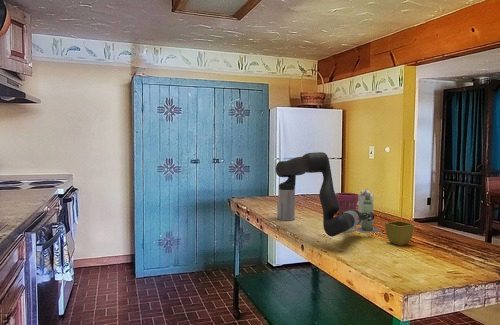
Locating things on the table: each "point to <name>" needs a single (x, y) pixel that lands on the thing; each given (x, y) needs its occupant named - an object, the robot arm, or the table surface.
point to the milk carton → (361, 199)
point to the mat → (368, 231)
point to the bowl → (351, 229)
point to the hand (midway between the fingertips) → (362, 213)
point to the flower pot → (399, 232)
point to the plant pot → (347, 201)
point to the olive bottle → (367, 208)
